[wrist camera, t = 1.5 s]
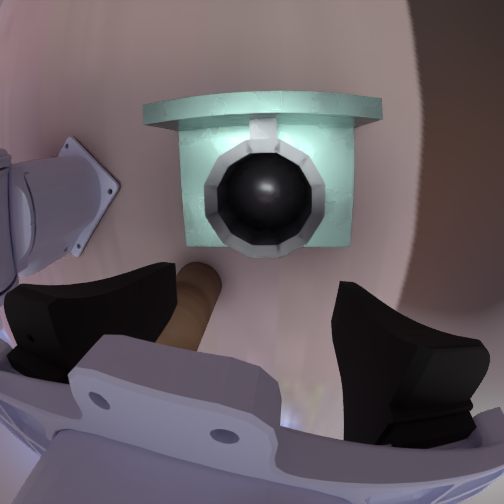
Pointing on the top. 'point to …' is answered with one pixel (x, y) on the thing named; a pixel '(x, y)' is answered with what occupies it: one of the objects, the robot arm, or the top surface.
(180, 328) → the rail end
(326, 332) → the top surface
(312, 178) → the cup bracket
